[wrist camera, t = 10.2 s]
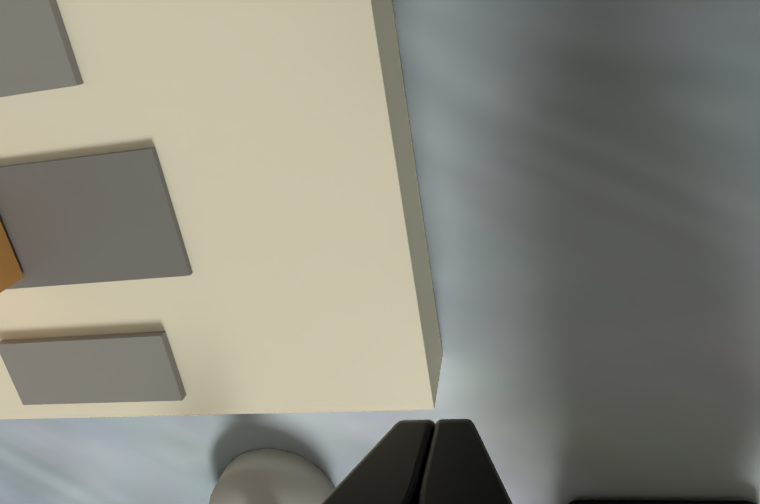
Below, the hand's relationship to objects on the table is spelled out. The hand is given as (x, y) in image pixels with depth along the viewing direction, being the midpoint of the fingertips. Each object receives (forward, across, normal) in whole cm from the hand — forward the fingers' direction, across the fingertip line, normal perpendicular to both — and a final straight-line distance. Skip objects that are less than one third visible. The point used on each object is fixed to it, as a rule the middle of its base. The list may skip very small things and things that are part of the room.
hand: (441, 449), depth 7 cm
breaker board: (+13, +13, 0) cm, 18 cm away
